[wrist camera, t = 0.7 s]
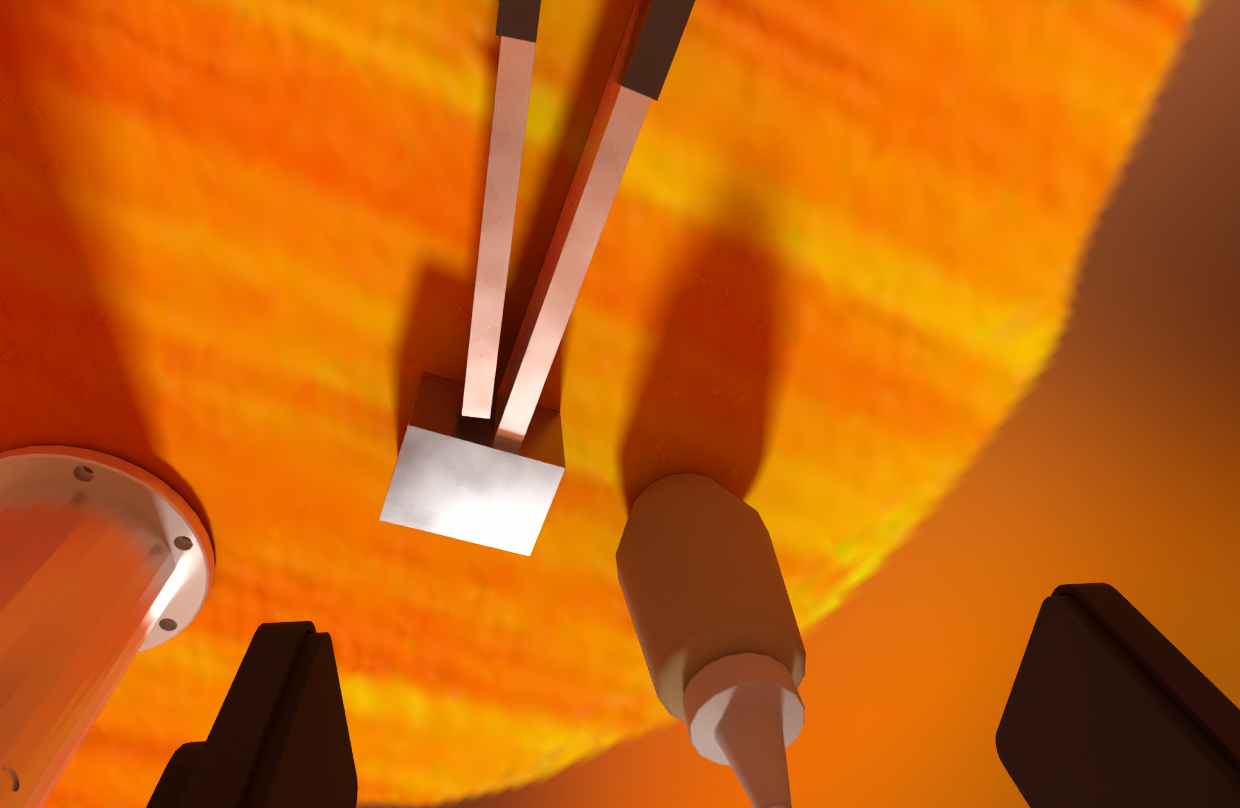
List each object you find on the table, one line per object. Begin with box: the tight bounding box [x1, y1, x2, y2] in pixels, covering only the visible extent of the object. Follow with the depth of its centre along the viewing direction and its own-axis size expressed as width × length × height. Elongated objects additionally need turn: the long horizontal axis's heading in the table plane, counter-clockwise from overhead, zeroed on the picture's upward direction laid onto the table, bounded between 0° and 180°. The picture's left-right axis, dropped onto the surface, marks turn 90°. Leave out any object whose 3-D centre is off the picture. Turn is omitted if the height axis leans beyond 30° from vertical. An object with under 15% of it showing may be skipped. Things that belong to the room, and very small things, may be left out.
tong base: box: [379, 0, 695, 556], centre depth 33 cm, size 24×7×6 cm, turn 159°
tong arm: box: [462, 0, 541, 419], centre depth 31 cm, size 19×1×5 cm, turn 170°
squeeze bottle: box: [616, 472, 806, 808], centre depth 34 cm, size 8×8×18 cm
